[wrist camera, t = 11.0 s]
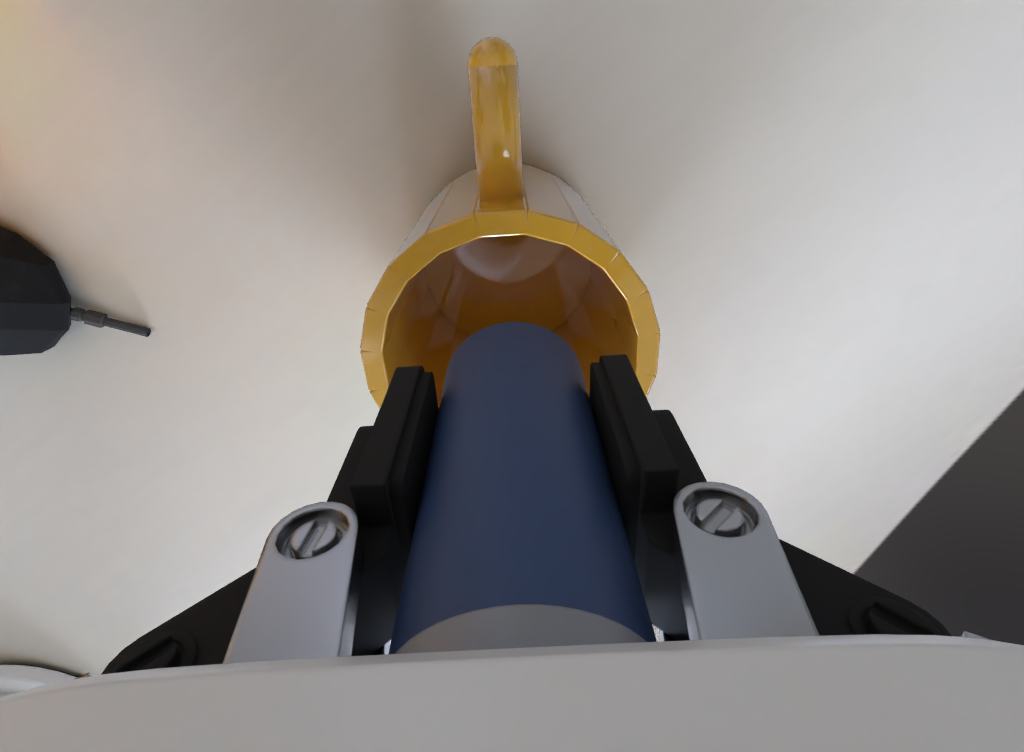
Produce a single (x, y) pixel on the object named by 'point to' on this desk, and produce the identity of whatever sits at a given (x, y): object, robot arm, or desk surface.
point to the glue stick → (518, 510)
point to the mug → (505, 257)
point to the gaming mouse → (38, 301)
